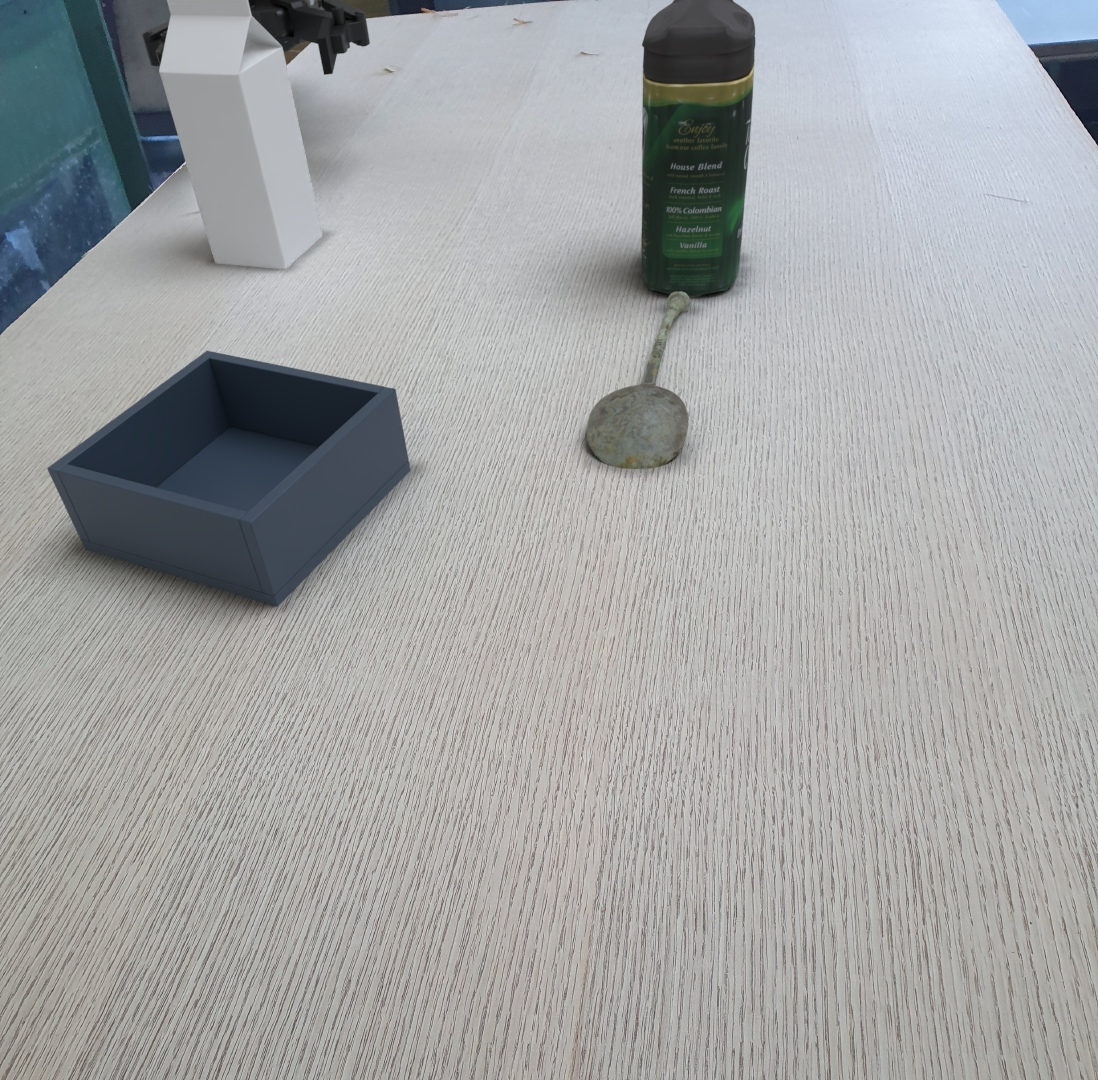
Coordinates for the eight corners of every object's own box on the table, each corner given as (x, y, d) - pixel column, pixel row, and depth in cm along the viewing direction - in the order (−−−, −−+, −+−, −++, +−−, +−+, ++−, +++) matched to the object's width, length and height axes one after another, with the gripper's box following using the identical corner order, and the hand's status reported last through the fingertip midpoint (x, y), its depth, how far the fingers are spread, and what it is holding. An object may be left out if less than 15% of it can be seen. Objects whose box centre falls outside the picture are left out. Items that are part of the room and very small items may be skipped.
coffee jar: (739, 302, 82) (758, 21, 69) (637, 302, 84) (636, 25, 70) (741, 249, 89) (759, -18, 75) (646, 249, 90) (647, -13, 77)
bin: (86, 552, 66) (46, 468, 61) (232, 431, 74) (206, 350, 70) (278, 610, 60) (250, 522, 56) (411, 473, 69) (396, 388, 65)
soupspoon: (575, 476, 69) (677, 489, 68) (575, 431, 66) (680, 443, 65) (638, 307, 83) (722, 315, 81) (639, 264, 80) (727, 272, 79)
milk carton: (286, 272, 92) (223, 12, 78) (215, 265, 93) (140, 10, 80) (324, 238, 96) (270, -14, 82) (255, 232, 98) (191, -15, 84)
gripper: (403, 32, 109) (397, 98, 95) (160, 55, 109) (118, 126, 95) (390, -58, 104) (382, -2, 89) (135, -33, 104) (85, 27, 89)
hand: (246, 64), depth 92 cm, fingers open, 13 cm apart
